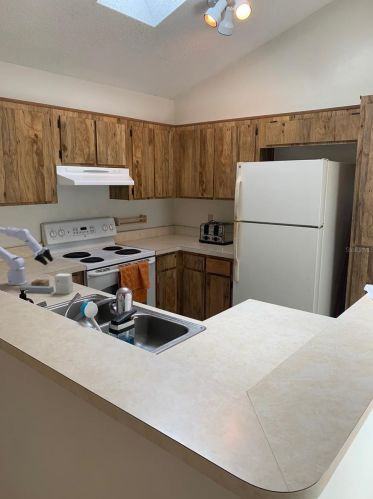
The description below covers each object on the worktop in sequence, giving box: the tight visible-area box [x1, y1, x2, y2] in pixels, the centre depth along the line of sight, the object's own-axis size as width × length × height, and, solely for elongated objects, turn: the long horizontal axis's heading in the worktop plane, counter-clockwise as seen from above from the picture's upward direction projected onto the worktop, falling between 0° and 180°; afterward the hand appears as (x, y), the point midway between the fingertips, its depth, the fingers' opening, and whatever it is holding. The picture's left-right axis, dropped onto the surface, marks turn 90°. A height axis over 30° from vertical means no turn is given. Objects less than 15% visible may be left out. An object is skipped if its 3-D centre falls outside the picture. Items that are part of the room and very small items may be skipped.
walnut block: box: [30, 279, 50, 286], centre depth 226 cm, size 8×6×4 cm
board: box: [20, 285, 55, 294], centre depth 217 cm, size 18×3×3 cm, turn 83°
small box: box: [54, 273, 74, 295], centre depth 215 cm, size 8×6×10 cm
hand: (49, 262), depth 231 cm, fingers open, 7 cm apart
